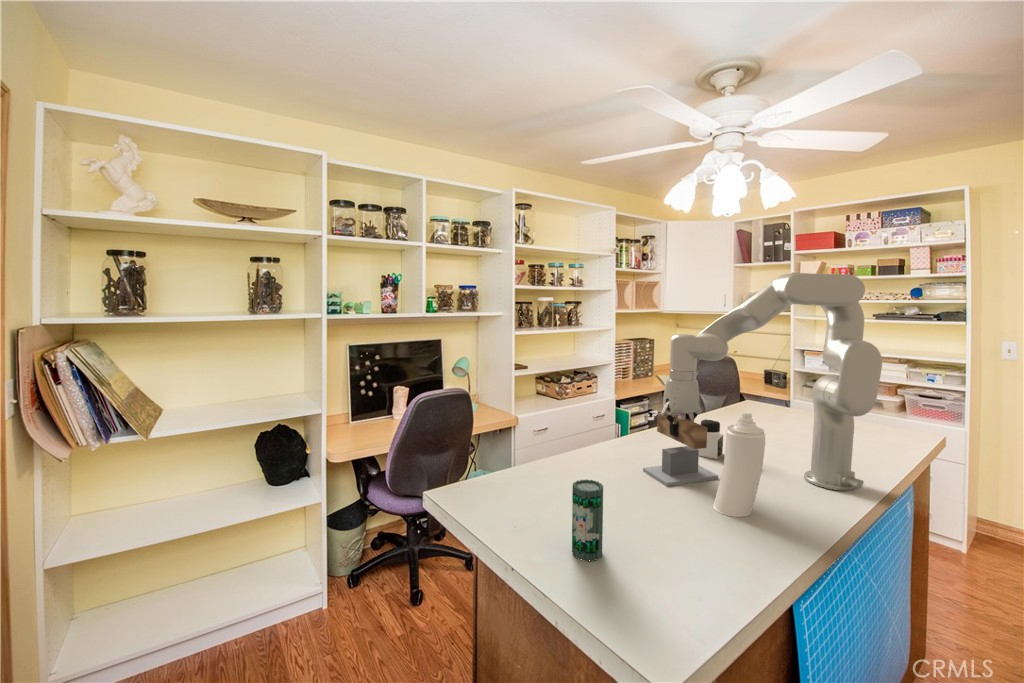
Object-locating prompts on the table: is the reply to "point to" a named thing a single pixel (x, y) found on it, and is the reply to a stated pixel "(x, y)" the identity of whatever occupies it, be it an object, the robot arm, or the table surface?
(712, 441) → the medicine bottle
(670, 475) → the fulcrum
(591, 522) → the can
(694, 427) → the walnut bar
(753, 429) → the spray can
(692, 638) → the table surface
